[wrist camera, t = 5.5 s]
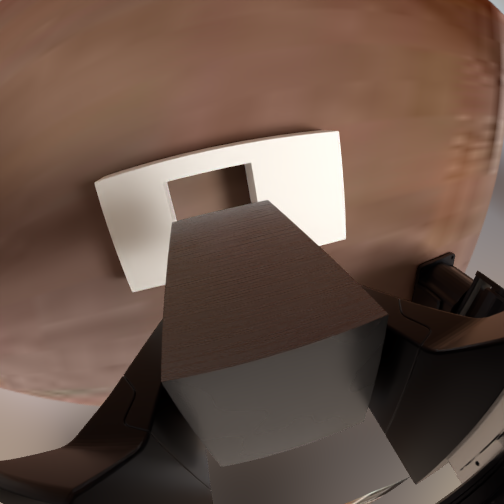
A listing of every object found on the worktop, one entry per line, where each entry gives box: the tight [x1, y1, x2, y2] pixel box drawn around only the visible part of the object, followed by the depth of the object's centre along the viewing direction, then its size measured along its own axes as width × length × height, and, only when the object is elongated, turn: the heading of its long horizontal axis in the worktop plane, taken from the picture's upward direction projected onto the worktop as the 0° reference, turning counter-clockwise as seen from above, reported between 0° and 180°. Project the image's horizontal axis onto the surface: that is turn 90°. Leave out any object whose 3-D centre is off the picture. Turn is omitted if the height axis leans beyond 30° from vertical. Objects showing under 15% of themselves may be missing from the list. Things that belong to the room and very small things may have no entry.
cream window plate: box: [95, 130, 346, 292], centre depth 19 cm, size 16×8×2 cm, turn 99°
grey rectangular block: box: [161, 200, 389, 466], centre depth 9 cm, size 4×4×8 cm
